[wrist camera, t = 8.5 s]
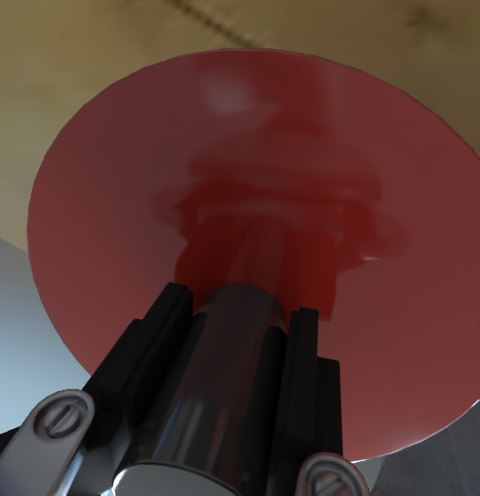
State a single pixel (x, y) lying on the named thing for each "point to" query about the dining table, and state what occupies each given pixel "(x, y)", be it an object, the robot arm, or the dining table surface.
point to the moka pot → (436, 463)
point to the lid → (264, 254)
